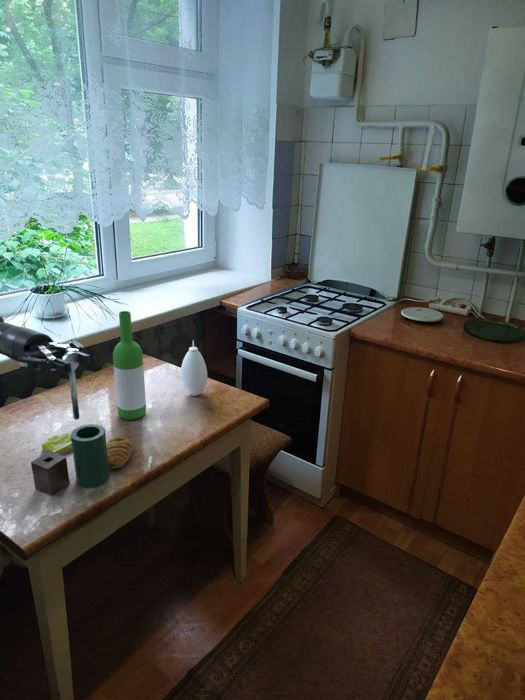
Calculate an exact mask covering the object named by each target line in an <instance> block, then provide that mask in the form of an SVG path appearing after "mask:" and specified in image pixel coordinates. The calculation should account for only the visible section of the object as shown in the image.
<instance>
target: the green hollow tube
mask: <svg viewBox="0 0 525 700" xmlns="http://www.w3.org/2000/svg"><path fill="white" fill-rule="evenodd" d="M70 435H71V442H72V449H73V450H72V457H73V464H74V471H75V479H76V483H77V485H78V486H79V487H81V488H85V489H93V488H97V487H100V486H103V485H104V484H106V483H107V482H108V481H109V479H110V469H109V466H108V456H107V446H106V445H107V438H106V437H107V436H106V428H105V427H104V426H102V425H100V424H95V423H89V424H83V425H80V426H78V427H75V428H74V429H73V430H72V431H71V432H70Z"/></svg>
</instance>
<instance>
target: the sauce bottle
mask: <svg viewBox="0 0 525 700" xmlns="http://www.w3.org/2000/svg"><path fill="white" fill-rule="evenodd" d="M180 382H181V386H182V388H183V390H184V392H185V393H187V394H188V395H189V396H192V397H197V396H198V395H199V396H200V394H201V393H203V392H204V391H205V389H206V387H207V384H208V369H207V365H206V361H205V359H204V357H203V355H202V354H201V351H199V348H198V347H197V346H195V340H194V339H193V340H192V346H191V347H189V348H188V351H187V352H186V354H185V356H184V358H183V360H182V363H181V368H180Z"/></svg>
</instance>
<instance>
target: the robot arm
mask: <svg viewBox="0 0 525 700" xmlns="http://www.w3.org/2000/svg"><path fill="white" fill-rule="evenodd" d="M68 352H75V353H77V354H78V355H79V358H80V362H79V365H83V366H86V367H87V366H91V356H90V354H87V353H85V349H84V345H82V344H81V343H80V342H78V340H76V339H74V338H71V339H69V340H68V343H62V342H56V341H54V340H53V338H51V336H50V335H48V334H46V333H43V332H40V331H37V330H35V329H31V328H28V327H25V326H18V325H15V324H12V323H10V322H5V319H4V317H3V315H2V314H1V313H0V355H3V356H5V357H7V358H9V359H10V360H13V361H15V362H18V365H19V370H21V371H26V372H34V373H41V374H45V373H48V370H50V371H58V372H60V373H65V374H67V375H69V373H71V372H72V369H71V364H70V362H67V361H64V360H62V358H63V357H64V355H65V354H66V353H68Z"/></svg>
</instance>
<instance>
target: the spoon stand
mask: <svg viewBox="0 0 525 700" xmlns="http://www.w3.org/2000/svg"><path fill="white" fill-rule="evenodd" d="M30 465H31V470H32V478H33V483H34V488H35V490H36V491H38V492H41V493H42V494H45V495H48V496H50V497H53V496H54V495H56V494H58V493H59V492H60V491H62V490H63V489H64V488H66V487H67V486H69V485H70V476H69V467H68V461H67V457H66V456H64V455H63V454H62V455H59V454H57V453H54V452H52V451H49V452H47V453H46V452H44V454H42V455H40V456H38V457H37V458H35V459H33V460H32V461H31V462H30Z"/></svg>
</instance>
